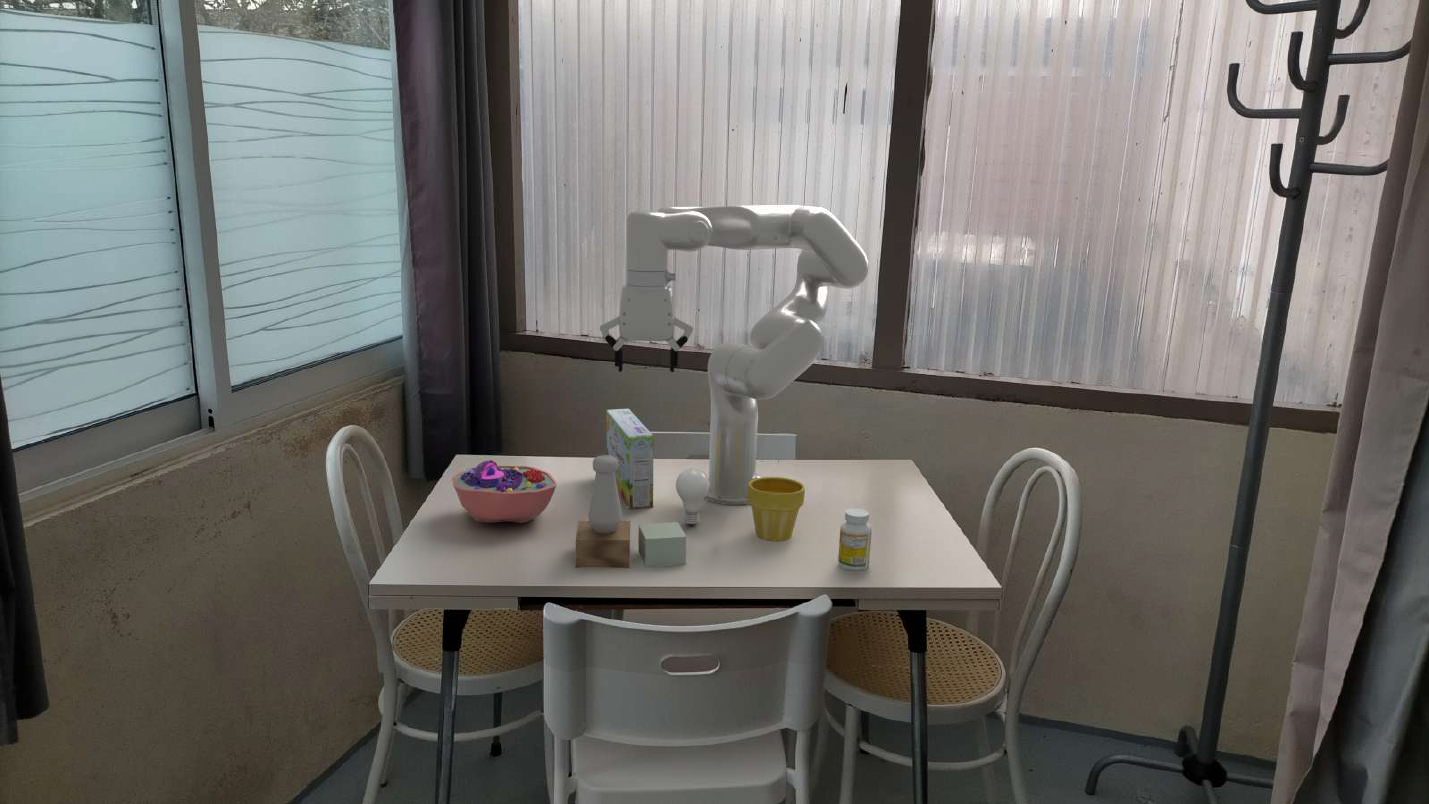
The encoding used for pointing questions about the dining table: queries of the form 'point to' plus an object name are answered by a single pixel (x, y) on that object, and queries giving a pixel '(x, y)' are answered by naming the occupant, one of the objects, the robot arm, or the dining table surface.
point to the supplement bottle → (855, 540)
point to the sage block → (662, 544)
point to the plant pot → (775, 506)
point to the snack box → (631, 457)
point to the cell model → (504, 492)
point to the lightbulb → (692, 492)
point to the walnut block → (602, 547)
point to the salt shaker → (605, 496)
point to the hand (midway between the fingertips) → (646, 370)
